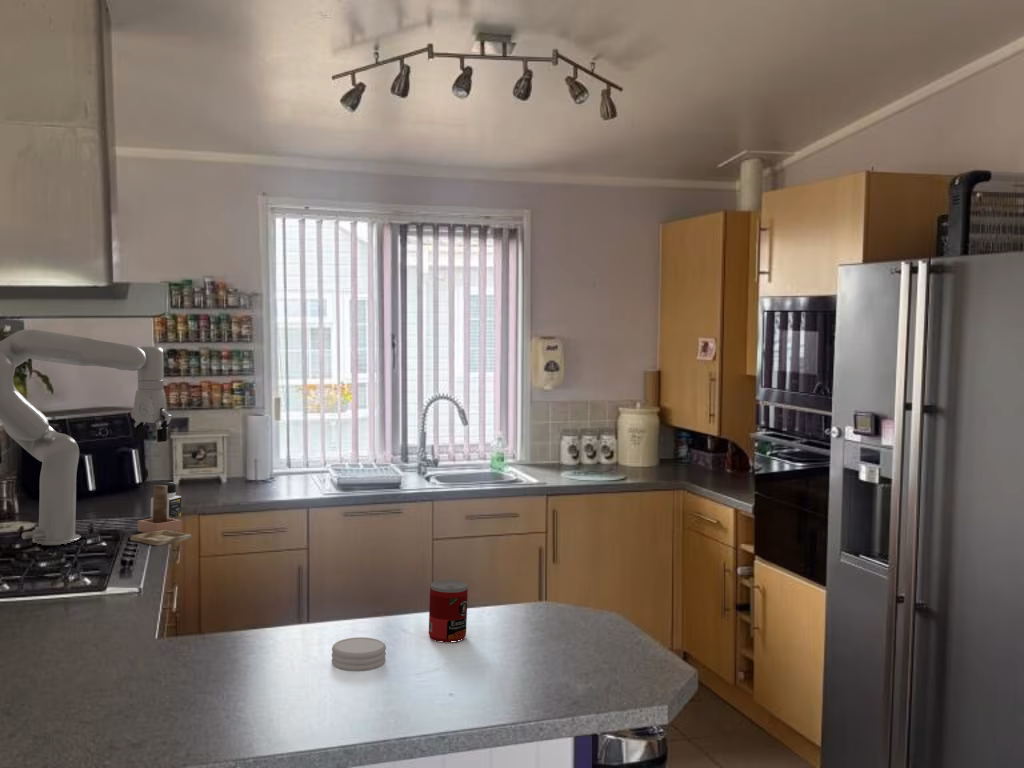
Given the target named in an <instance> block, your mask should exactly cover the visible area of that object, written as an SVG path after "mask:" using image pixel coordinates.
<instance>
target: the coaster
mask: <svg viewBox="0 0 1024 768" xmlns="http://www.w3.org/2000/svg"><path fill="white" fill-rule="evenodd" d="M386 649H387V645H386V644H385V643H384V642H383V641H382V640H380V639H377V638H372V637H361V636H360V637H357V636H356V637H348V638H345V639H341V640H339V641H336V642H335V643H334V644H332V647H331V651H332V654H331V663H332V665H333V666H334V668H336V669H339V670H341V671H347V672H367V671H372V670H375V669H379V668H381V667H382V666H384V664H385V663H386V656H387V655H386V654H387V653H386Z"/></svg>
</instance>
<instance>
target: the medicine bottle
mask: <svg viewBox="0 0 1024 768" xmlns="http://www.w3.org/2000/svg"><path fill="white" fill-rule="evenodd" d="M156 485H167V486H168V489H167V518H173V517H181V515H182V496H181V495H177V494H176V493H177V483H175V482H171V481H163V482H159V483H157V484H156ZM152 518H153V497H151V498H150V519H152Z"/></svg>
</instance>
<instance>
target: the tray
mask: <svg viewBox="0 0 1024 768" xmlns="http://www.w3.org/2000/svg"><path fill="white" fill-rule="evenodd" d="M129 539H130V540H129V541H133V542H138V543H144V544H146V545H153V546H156V547H157V546H163V545H168V544H173V543H178V542H183V541H188V540H192V534H189V533H185V532H180V531H176V532H174V531H168V530H161V531H155V532H150V533H144V532H143V533H139V534H132V535H130V538H129Z"/></svg>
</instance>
